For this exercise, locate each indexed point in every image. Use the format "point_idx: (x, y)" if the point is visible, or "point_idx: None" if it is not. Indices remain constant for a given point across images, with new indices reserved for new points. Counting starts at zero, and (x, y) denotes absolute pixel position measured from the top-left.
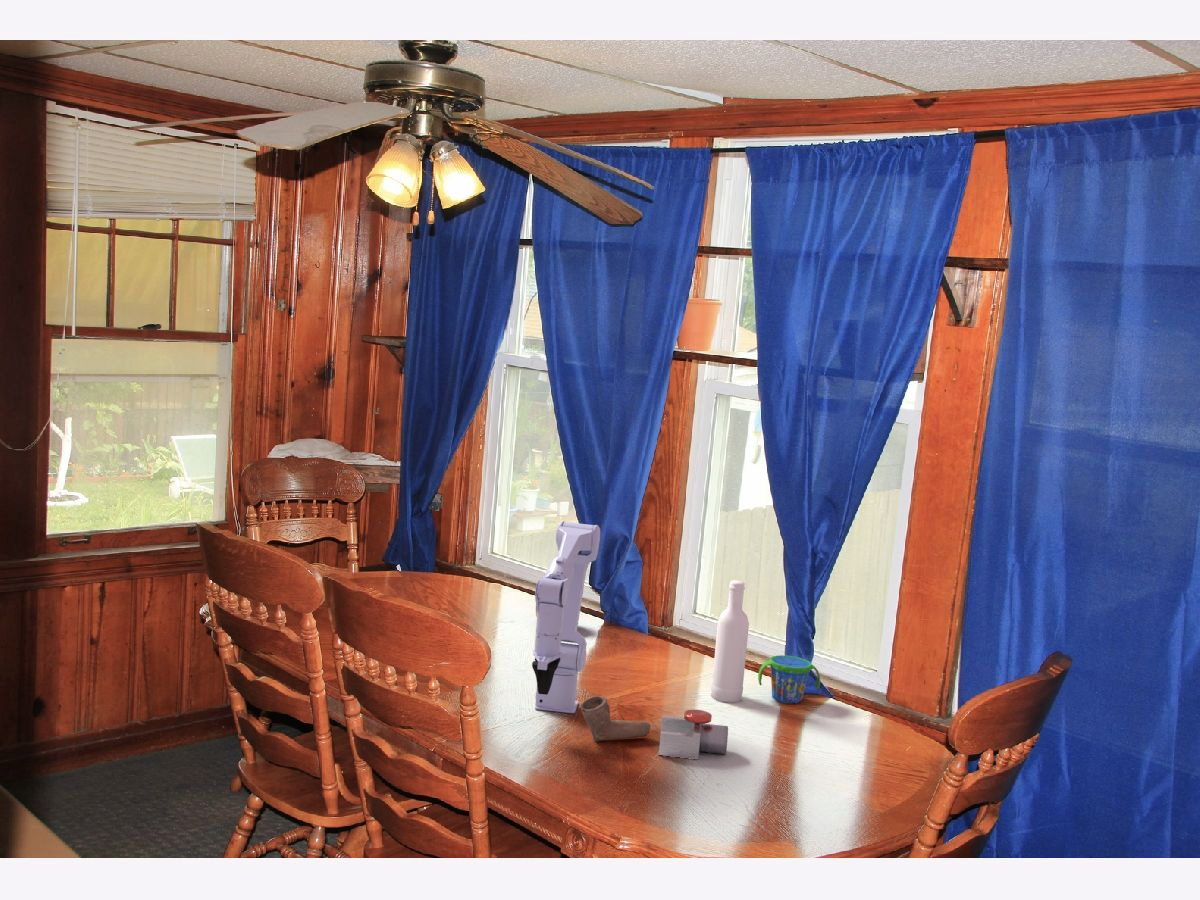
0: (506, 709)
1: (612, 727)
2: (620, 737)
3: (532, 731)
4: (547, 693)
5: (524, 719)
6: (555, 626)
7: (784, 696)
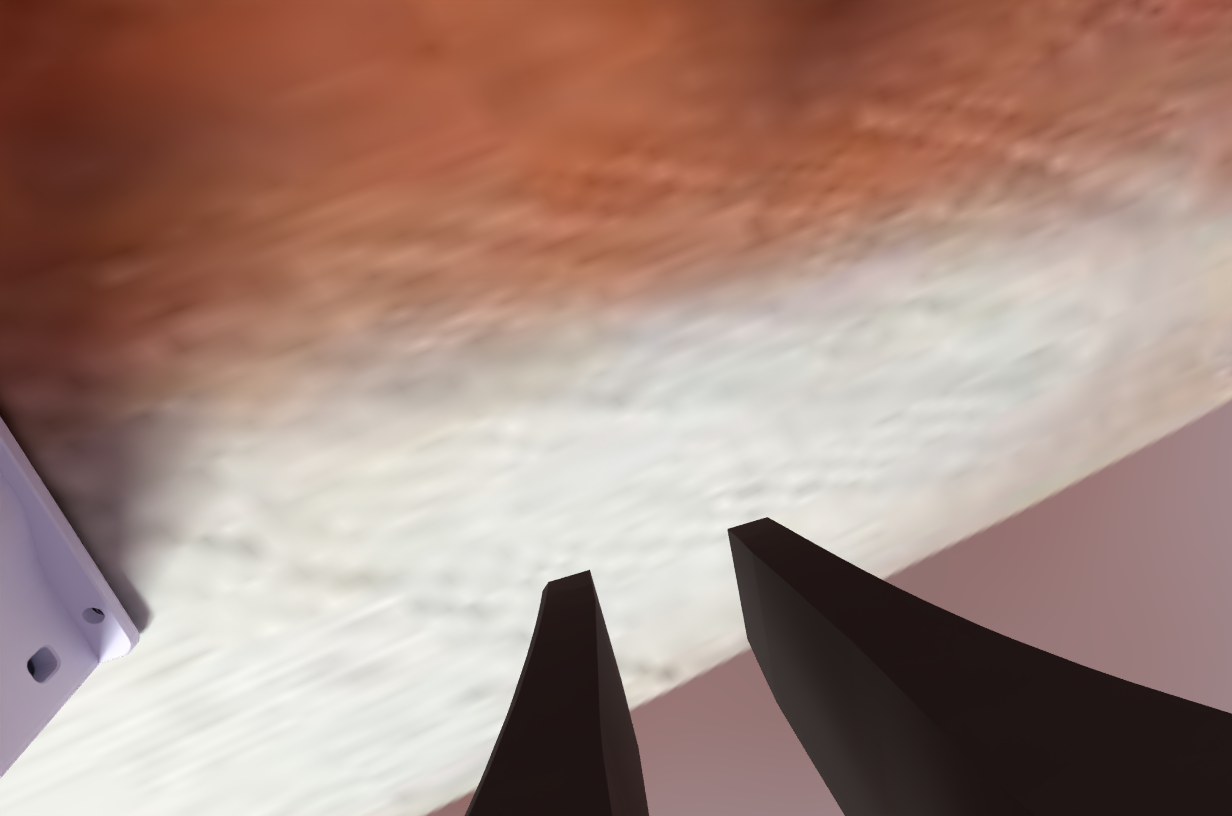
0: (296, 771)
1: None
2: None
3: (593, 461)
4: (780, 527)
5: (399, 604)
6: None
7: None
